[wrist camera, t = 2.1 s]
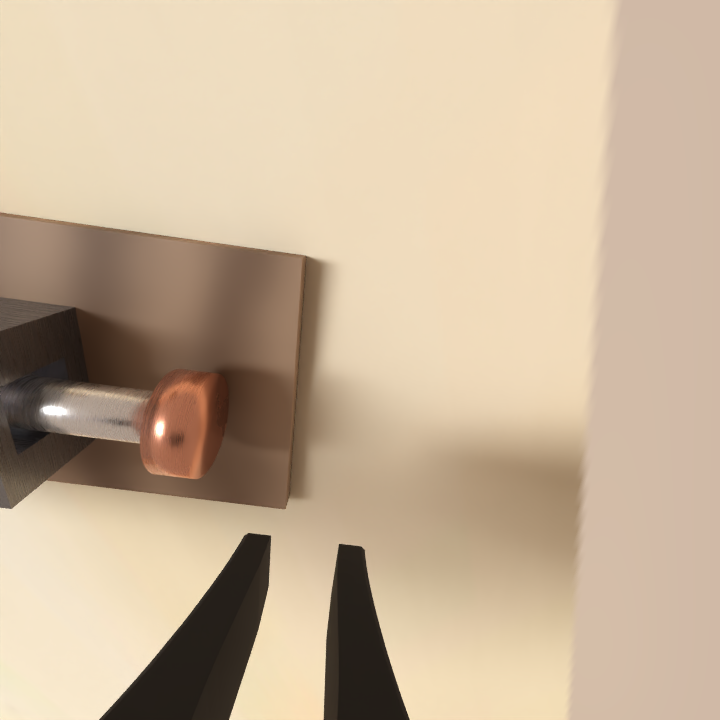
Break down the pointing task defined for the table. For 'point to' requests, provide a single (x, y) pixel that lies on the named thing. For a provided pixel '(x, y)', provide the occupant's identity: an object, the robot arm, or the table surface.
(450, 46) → the table surface
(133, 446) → the base plate
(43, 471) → the bearing housing
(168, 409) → the shaft
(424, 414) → the table surface
